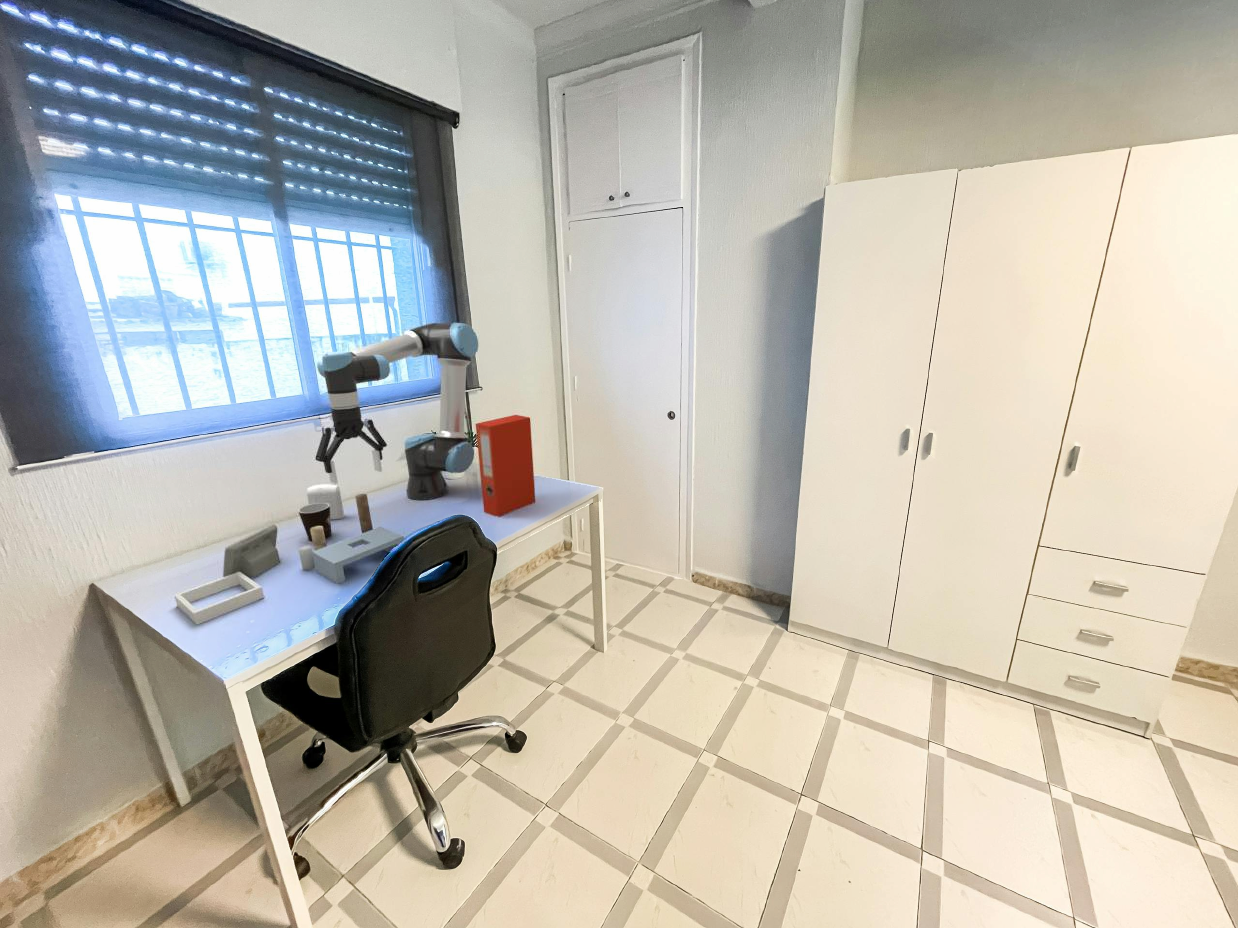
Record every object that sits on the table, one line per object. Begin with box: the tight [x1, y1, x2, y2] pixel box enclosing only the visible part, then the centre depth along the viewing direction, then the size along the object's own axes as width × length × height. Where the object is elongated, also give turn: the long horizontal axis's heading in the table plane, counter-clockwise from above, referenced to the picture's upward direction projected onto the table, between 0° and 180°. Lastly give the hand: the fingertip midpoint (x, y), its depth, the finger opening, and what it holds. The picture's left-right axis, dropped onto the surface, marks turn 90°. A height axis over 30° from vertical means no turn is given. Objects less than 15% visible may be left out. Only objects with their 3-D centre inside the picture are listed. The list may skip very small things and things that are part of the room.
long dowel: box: [354, 493, 374, 534], centre depth 159 cm, size 3×3×15 cm
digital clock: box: [222, 524, 281, 579], centre depth 143 cm, size 16×9×11 cm, turn 158°
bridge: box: [312, 526, 405, 585], centre depth 146 cm, size 20×12×6 cm, turn 144°
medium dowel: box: [310, 526, 328, 551], centre depth 150 cm, size 3×3×9 cm
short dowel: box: [297, 545, 315, 571], centre depth 144 cm, size 3×3×6 cm
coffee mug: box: [297, 503, 332, 542], centre depth 164 cm, size 12×9×10 cm
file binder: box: [475, 414, 536, 517], centre depth 181 cm, size 8×17×32 cm, turn 141°
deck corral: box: [173, 572, 265, 625], centre depth 129 cm, size 14×14×3 cm
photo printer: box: [306, 483, 345, 520], centre depth 177 cm, size 10×4×12 cm, turn 98°
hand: (357, 476), depth 155 cm, fingers open, 13 cm apart
